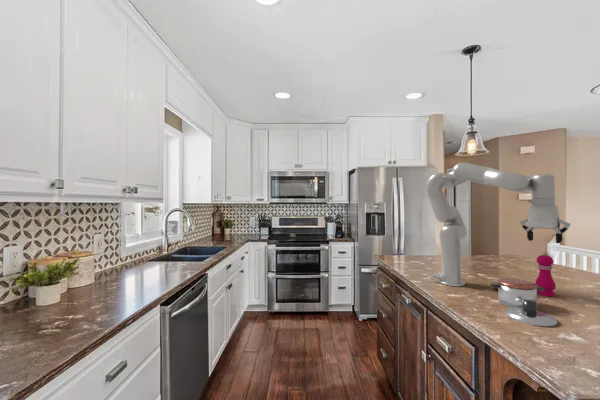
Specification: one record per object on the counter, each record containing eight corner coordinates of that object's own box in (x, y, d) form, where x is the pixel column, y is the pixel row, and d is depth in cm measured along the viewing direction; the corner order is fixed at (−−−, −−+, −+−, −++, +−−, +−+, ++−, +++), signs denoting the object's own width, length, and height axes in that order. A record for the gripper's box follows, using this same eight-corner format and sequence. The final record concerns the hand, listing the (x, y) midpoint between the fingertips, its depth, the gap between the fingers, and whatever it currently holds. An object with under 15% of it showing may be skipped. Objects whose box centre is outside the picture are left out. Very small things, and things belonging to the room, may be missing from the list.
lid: (514, 324, 100) (514, 306, 100) (498, 309, 114) (498, 293, 114) (566, 330, 95) (566, 311, 95) (543, 313, 110) (543, 296, 110)
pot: (497, 307, 116) (497, 285, 116) (486, 296, 129) (486, 277, 129) (552, 312, 110) (552, 289, 110) (535, 300, 123) (534, 280, 123)
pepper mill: (550, 292, 134) (550, 250, 134) (559, 297, 127) (558, 253, 127) (532, 291, 136) (531, 250, 136) (539, 296, 129) (539, 252, 129)
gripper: (516, 202, 128) (516, 240, 128) (566, 202, 113) (567, 244, 113) (523, 202, 132) (524, 239, 132) (573, 202, 117) (574, 243, 117)
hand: (544, 241), depth 122 cm, fingers open, 9 cm apart
